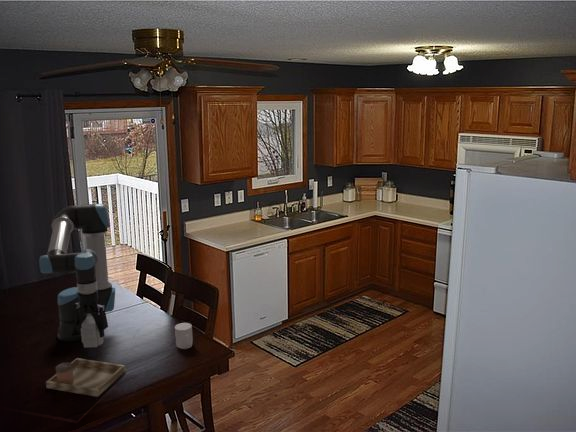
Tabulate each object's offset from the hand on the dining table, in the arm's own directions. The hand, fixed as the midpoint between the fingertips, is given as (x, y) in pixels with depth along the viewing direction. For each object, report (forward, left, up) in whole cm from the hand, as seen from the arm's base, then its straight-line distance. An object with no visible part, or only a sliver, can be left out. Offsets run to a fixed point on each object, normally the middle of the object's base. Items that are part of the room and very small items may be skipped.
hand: (92, 342), depth 222 cm
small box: (0, 0, 0) cm, 0 cm away
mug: (+24, +36, -16) cm, 46 cm away
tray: (-2, -3, -16) cm, 17 cm away
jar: (-9, -8, -15) cm, 20 cm away
